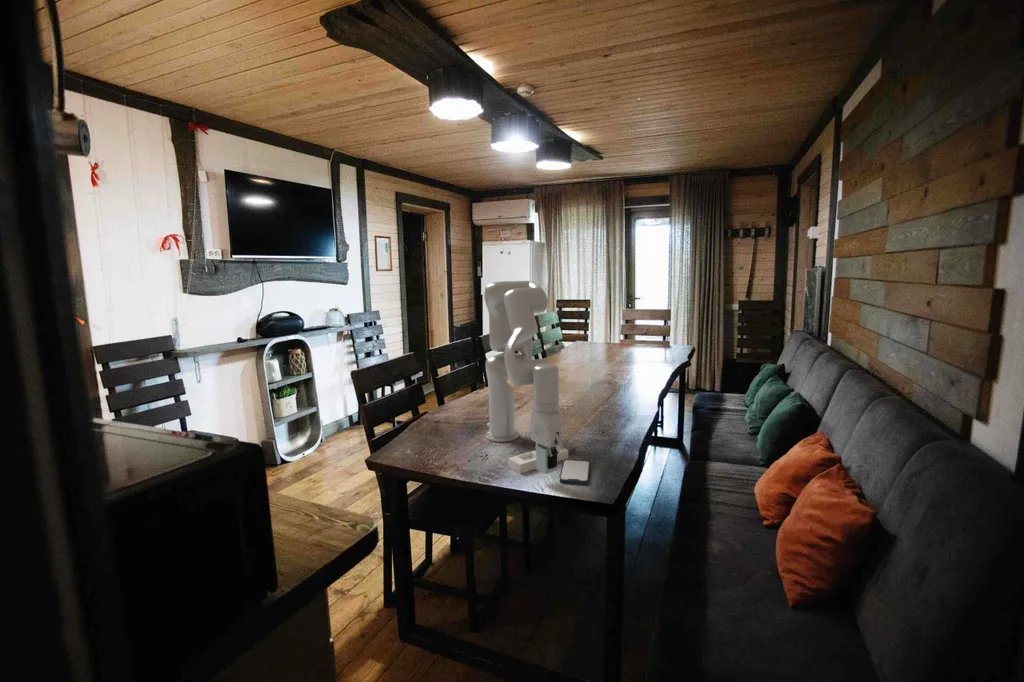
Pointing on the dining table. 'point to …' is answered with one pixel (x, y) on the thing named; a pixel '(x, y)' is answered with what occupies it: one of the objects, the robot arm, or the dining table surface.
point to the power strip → (532, 460)
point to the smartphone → (575, 472)
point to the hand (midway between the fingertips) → (546, 464)
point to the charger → (543, 459)
